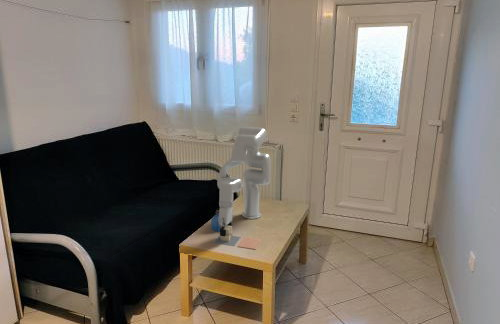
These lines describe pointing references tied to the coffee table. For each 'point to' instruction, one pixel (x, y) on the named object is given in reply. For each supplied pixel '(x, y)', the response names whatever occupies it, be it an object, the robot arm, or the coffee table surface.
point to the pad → (249, 243)
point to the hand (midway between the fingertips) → (226, 232)
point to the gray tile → (230, 243)
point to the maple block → (227, 233)
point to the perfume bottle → (215, 222)
